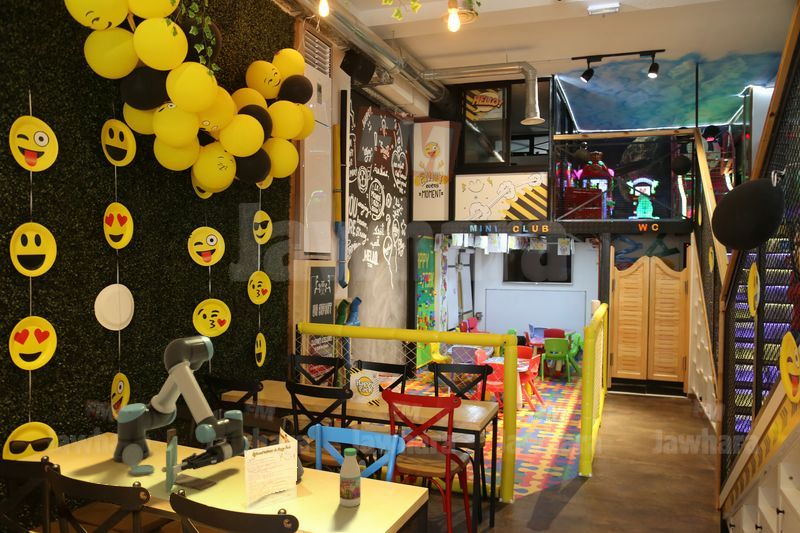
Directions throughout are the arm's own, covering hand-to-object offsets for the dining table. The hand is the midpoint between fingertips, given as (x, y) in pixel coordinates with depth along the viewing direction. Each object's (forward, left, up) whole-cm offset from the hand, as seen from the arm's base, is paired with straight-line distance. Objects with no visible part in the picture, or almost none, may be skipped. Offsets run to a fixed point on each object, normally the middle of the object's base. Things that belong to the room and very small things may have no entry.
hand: (172, 470), depth 233 cm
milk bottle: (+48, +50, -9) cm, 70 cm away
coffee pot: (+14, +39, -9) cm, 43 cm away
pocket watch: (-33, -4, -9) cm, 34 cm away
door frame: (-8, +9, -9) cm, 15 cm away
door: (-8, +1, -8) cm, 11 cm away
